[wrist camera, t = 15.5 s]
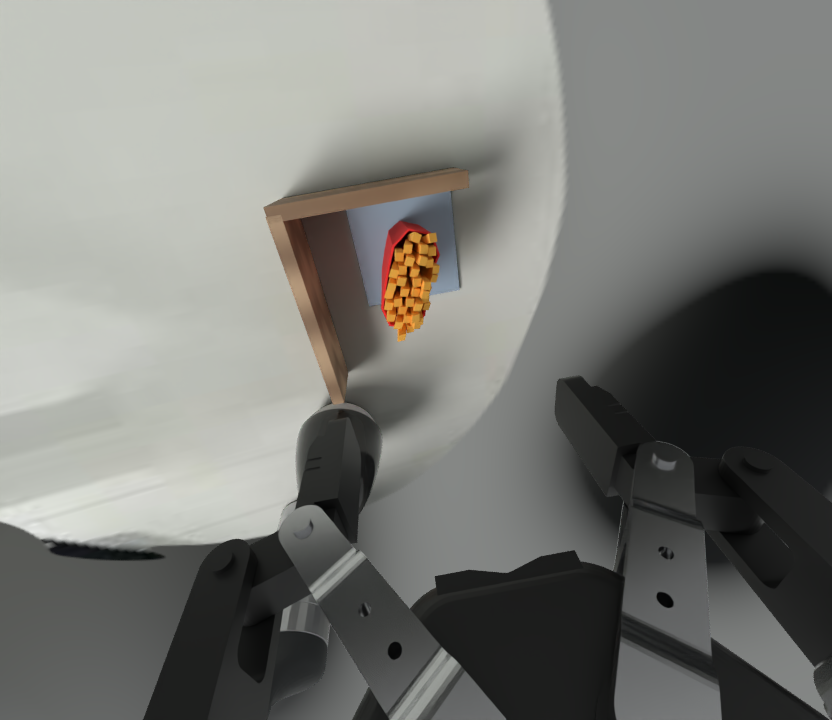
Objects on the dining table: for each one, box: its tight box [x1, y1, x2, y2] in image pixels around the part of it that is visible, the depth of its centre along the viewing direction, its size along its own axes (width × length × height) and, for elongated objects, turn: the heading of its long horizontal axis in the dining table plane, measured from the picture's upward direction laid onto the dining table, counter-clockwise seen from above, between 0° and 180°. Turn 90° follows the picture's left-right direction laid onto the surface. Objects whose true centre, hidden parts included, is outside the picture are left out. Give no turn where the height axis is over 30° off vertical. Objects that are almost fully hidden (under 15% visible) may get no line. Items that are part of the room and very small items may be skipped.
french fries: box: [381, 221, 440, 341], centre depth 30 cm, size 8×4×12 cm, turn 168°
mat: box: [346, 191, 459, 306], centre depth 35 cm, size 10×10×1 cm
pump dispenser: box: [296, 403, 382, 514], centre depth 39 cm, size 10×10×15 cm
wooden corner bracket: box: [264, 167, 469, 405], centre depth 34 cm, size 20×16×6 cm
